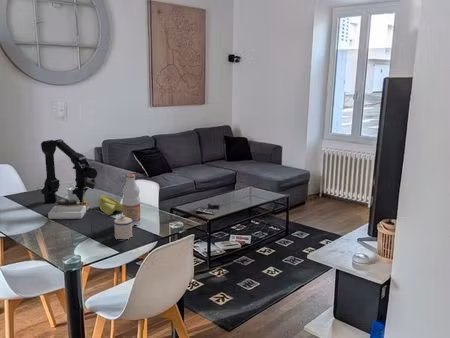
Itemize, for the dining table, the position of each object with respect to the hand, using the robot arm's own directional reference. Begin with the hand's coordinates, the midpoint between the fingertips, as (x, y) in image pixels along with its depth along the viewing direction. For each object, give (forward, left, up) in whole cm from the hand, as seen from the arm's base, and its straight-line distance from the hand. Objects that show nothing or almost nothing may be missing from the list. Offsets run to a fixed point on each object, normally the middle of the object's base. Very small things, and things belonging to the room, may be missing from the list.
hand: (82, 201), depth 246 cm
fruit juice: (+33, -27, -5) cm, 43 cm away
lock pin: (0, 0, -4) cm, 4 cm away
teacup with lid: (+30, -45, -5) cm, 54 cm away
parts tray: (-5, -12, -4) cm, 14 cm away
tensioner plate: (-5, 0, -4) cm, 7 cm away
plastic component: (+18, -2, -5) cm, 19 cm away
